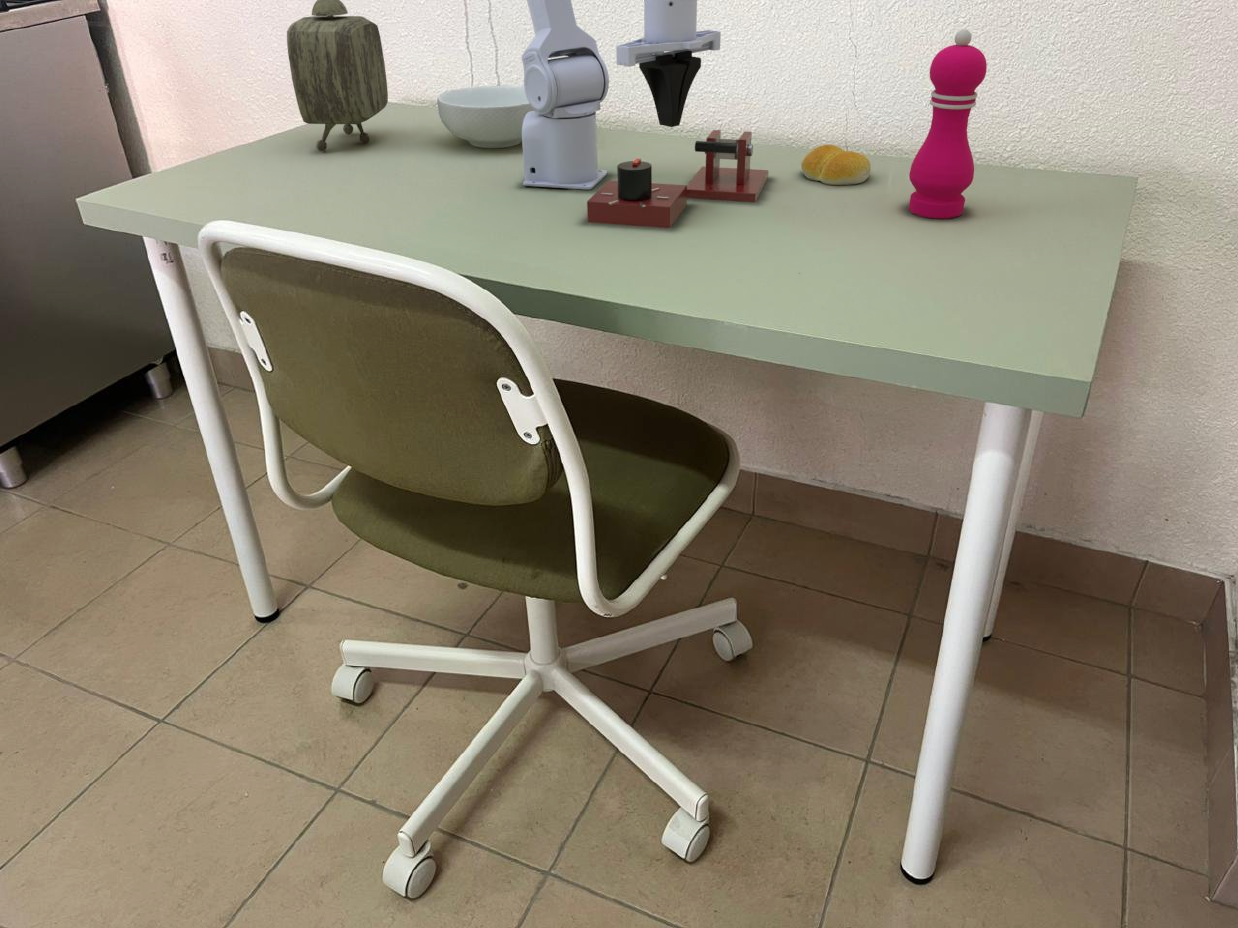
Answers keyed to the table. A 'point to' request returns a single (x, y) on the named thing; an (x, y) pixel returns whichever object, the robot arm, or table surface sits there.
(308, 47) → the tabletop clock
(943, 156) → the pepper mill
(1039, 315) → the table surface
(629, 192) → the knob
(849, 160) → the bread roll
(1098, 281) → the table surface
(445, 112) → the cereal bowl
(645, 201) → the panel
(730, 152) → the toaster lever
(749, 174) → the red lever base
